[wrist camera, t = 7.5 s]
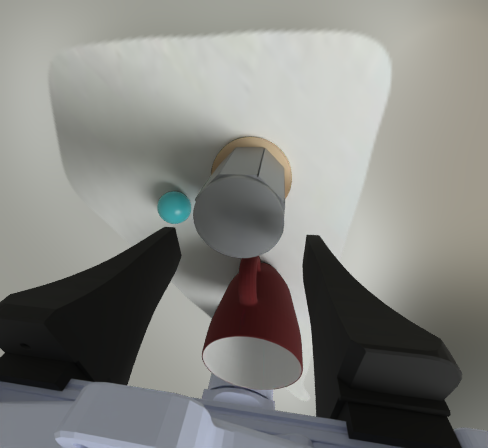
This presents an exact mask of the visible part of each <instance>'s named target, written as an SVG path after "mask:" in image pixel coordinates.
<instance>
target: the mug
mask: <svg viewBox="0 0 488 448" xmlns="http://www.w3.org/2000/svg"><path fill="white" fill-rule="evenodd" d="M202 360H203V362H204V364H205V366H206V367H207V368H208V370H209V371H210V372H212V373H213V374H214V375H215V376H217V377H219V378H220V379H222V380H224V381H226V382H228V383H231V384H234V385H237V386H240V387H244V388H250V389H258V390H272V389H279V388H283V387H287V386H289V385H291V384H293V383H295V382H296V381H297V380H298V379H299V378H300V377H301V375H302V371H303V361H302V343H301V335H300V330H299V325H298V322H297V318H296V314H295V310H294V306H293V302H292V298H291V294H290V291H289V288H288V286H287V284H286V283H285V281H284V279H283V278H282V277H281V275H280V274H279V273H278V272H277V270H276V269H275V268H274V267H272V266H271V265H269V264H266V263H261V262H260V258H259V256H256V257H251V258H242V259H241V262H240V267H239V273H238V274H237V275H236V276H235V277H234V278H233V279H232V281H231V282H230V284H229V286H228V288H227V290H226V292H225V294H224V296H223V298H222V300H221V302H220V304H219V306H218V308H217V310H216V312H215V314H214V316H213V318H212V321H211V323H210V326H209V329H208V332H207V336H206V339H205V343H204V347H203V351H202Z"/></svg>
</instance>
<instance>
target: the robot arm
mask: <svg viewBox="0 0 488 448" xmlns="http://www.w3.org/2000/svg"><path fill="white" fill-rule="evenodd" d="M180 259H181V251H180V247H179V243H178V238H177V234H176V229H175V228H174V227H164V228H162V229H160V230H158V231H157V232H155V233H154V234H152V235H150V236H149V237H147V238H146V239H144V240H142V241H141V242H139V243H137V244H136V245H134V246H133V247H131V248H129V249H127V250H126V251H124V252H122V253H120V254H119V255H117V256H115V257H113V258H111V259H109V260H107V261H105V262H103V263H101V264H99V265H97V266H94V267H92V268H90V269H87V270H85V271H82V272H80V273H77V274H75V275H72V276H70V277H67V278H64V279H62V280H58V281H55V282H52V283H49V284H46V285H43V286H40V287H36V288H32V289H28V290H25V291H21V292H17V293H14V294H10V295H9V296H7V297H6V298H5V299H4V300H2V301H1V302H0V348H1V349H2V350H3V351H4V352H5V353H4V354H3V356H2V357H0V448H488V431H486V430H479V429H473V428H455V429H452V426H451V424H450V422H449V420H448V418H447V416H448V417H449V416H450V410H449V408H448V406H447V404H446V402H445V400H444V399H445V398H446V397H447V396H448V395H449V394H450V393H451V392H452V391H453V390H454V389H455V388H456V387H457V386H458V384H459V383H460V381H461V379H462V372H461V370H460V369H459V367H458V366H457V364H456V362H455V360H454V358H453V357H452V355H451V353H450V352H449V350H448V349H447V347H446V346H445V344H444V343H443V342H442V340H441V339H440V338H438V337H436V336H435V335H433V334H431V333H429V332H428V331H426V330H424V329H423V328H421V327H419V326H418V325H416V324H414V323H413V322H411V321H409V320H408V319H406V318H405V317H403V316H402V315H400V314H399V313H397V312H396V311H394V310H393V309H392V308H390V307H389V306H387V305H386V304H384V303H383V302H382V301H381V300H379V299H378V298H377V297H375V296H374V295H373V294H372V293H371V292H369V291H368V290H367V289H366V288H365V287H364V286H362V285H361V284H360V283H359V282H358V281H357V280H356V279H355V278H354V277H353V276H352V275H351V274H350V273H349V272H348V271H347V270H346V269H345V268H344V267H343V265H342V264H341V263H340V262H339V261H338V260H337V258H336V257H335V256H334V255H333V253H332V252H331V251H330V250H329V248H328V247H327V246H326V244H325V243H324V241H323V240H322V239H321V237H320V236H319V235H307V237H306V244H305V251H304V258H303V282H304V288H305V294H306V299H307V305H308V311H309V316H310V323H311V331H312V345H313V359H314V376H315V395H316V417H315V416H308V415H302V414H295V413H289V412H283V411H276V410H275V401H273V389H272V390H258V389H250V388H244V387H240V386H237V385H234V384H231V383H228V382H226V381H224V380H222V379H220V378H219V377H217V376H215V375H214V374H213V373H212V374H211V378H210V382H209V386H208V389H204V392H203V396H202V399H199V398H192V397H188V396H184V395H180V394H177V393H172V392H165V391H158V390H153V389H145V388H139V387H133V386H127V384H128V381H129V378H130V375H131V372H132V368H133V365H134V363H135V360H136V357H137V354H138V351H139V348H140V345H141V343H142V340H143V338H144V335H145V333H146V330H147V327H148V325H149V322H150V320H151V318H152V315H153V313H154V311H155V309H156V307H157V305H158V303H159V301H160V299H161V297H162V296H163V294H164V292H165V290H166V288H167V287H168V285H169V283H170V281H171V279H172V277H173V276H174V274H175V272H176V269H177V267H178V264H179V261H180Z"/></svg>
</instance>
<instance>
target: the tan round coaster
mask: <svg viewBox="0 0 488 448" xmlns="http://www.w3.org/2000/svg"><path fill="white" fill-rule="evenodd" d="M235 147H264V149H265V148H266V149H267V150H268V151H269V152H270V153H271V154H272V155H273V156H274V157H275V158H276V159H277V160H278V162H279V163H280V164H281V165H282V166H283V167H284V177H285V199H286V197H287V195H288V193H289V191H290V188H291V183H292V174H291V167H290V164H289V161H288V159H287V157H286V156H285V154H284V153H283V152H282V150H281V149H279V148H278V147H277V146H276V145H275V144H273V143H272V142H270V141H268V140H265V139H262V138H258V137H244V138H239V139H236V140H234V141H232V142H230V143H229V144H227V145H226V146H225V147H224V148H223V149H222V150H221V151H220V152H219V154H218V155H217V156H216V158H215V160H214V163H213V166H212V170H211V176H212V174H213V173H214V171H215V170H216V169H217V167H218V166H219V165H220V164H221V163H222V161H223V160H224V159H225V158H226V157H227V156H228V155H229V154H230V153H231V152H232V151H233V150H234V149H235Z"/></svg>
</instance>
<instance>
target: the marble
mask: <svg viewBox="0 0 488 448" xmlns="http://www.w3.org/2000/svg"><path fill="white" fill-rule="evenodd" d="M157 209H158V213H159V215H160V217H161V218H162V219H163V220H164V221H166V222H168V223H171V224H178V223H181V222H183V221H185V220H186V219H187V218H188V217H189V215H190V213H191V203H190V201H189V199H188V198H187V197H186V196H185V195H184V194H182V193H180V192H176V191H172V192H168V193H166V194H164V195H163V196H162V197H161V198H160V199H159V202H158V206H157Z"/></svg>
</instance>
